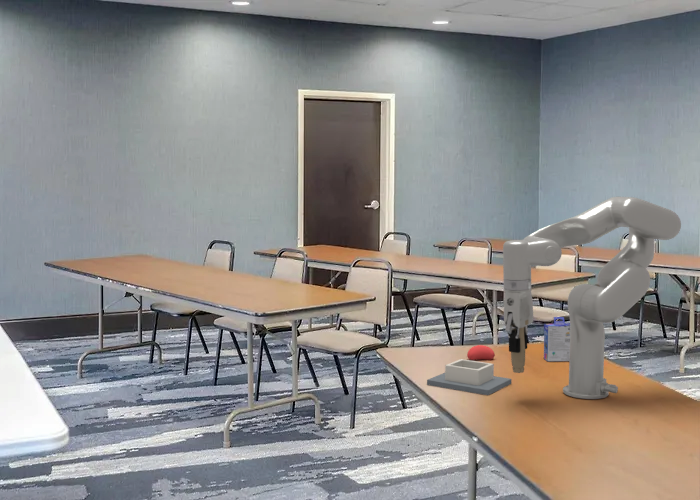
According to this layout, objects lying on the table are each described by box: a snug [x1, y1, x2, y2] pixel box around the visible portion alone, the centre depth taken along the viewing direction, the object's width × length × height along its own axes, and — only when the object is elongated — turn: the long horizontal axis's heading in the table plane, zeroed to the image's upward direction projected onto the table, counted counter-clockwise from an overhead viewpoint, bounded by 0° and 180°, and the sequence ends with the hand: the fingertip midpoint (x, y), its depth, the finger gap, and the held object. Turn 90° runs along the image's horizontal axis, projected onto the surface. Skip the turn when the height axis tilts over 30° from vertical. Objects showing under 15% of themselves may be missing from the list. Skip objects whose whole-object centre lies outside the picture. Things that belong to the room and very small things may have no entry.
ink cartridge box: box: [543, 316, 570, 362], centre depth 277 cm, size 10×6×14 cm, turn 94°
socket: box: [426, 358, 513, 396], centre depth 245 cm, size 20×16×6 cm
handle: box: [510, 320, 529, 374], centre depth 227 cm, size 5×6×15 cm
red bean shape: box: [466, 344, 496, 361], centre depth 278 cm, size 5×9×6 cm
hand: (518, 349), depth 227 cm, fingers closed on handle, 3 cm apart
